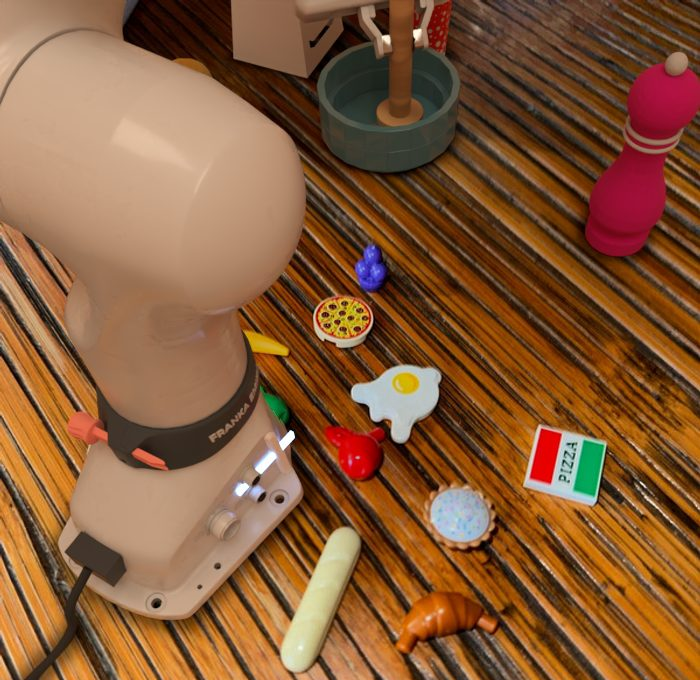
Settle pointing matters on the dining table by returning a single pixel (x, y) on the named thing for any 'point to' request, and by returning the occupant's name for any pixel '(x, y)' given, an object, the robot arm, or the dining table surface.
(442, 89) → the bowl
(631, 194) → the pepper mill
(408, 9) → the stick
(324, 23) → the grater
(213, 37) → the dining table surface
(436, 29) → the beverage cup
